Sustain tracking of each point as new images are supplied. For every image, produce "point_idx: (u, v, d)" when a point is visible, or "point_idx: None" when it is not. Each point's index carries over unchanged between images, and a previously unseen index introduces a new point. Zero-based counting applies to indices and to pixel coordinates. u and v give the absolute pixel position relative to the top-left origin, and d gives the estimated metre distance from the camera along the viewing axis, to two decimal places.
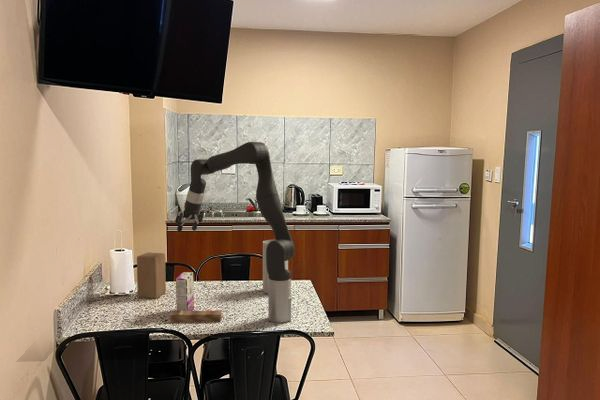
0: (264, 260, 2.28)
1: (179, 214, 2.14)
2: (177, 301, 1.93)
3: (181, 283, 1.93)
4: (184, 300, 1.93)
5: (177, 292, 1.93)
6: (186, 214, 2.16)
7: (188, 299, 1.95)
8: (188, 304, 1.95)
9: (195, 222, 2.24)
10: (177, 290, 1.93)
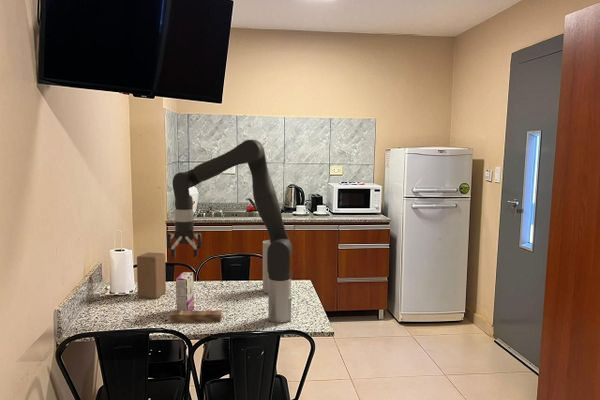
0: (264, 260, 2.28)
1: None
2: (177, 301, 1.93)
3: (181, 283, 1.93)
4: (184, 300, 1.93)
5: (177, 292, 1.93)
6: (175, 236, 1.95)
7: (188, 299, 1.95)
8: (188, 304, 1.95)
9: (194, 248, 1.97)
10: (177, 290, 1.93)
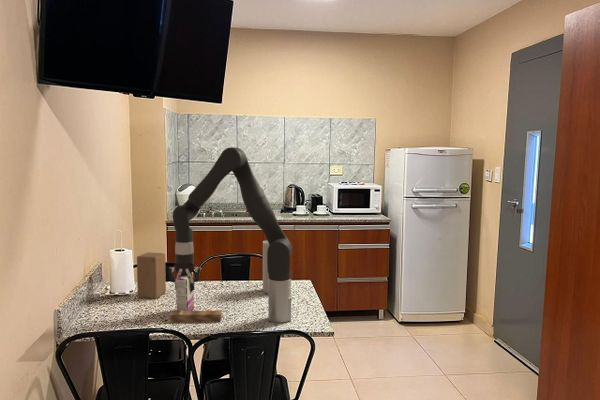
0: (264, 260, 2.28)
1: None
2: (177, 301, 1.93)
3: (181, 283, 1.92)
4: (184, 300, 1.93)
5: (177, 292, 1.93)
6: (175, 269, 1.96)
7: (188, 299, 1.95)
8: (188, 304, 1.95)
9: (191, 281, 1.98)
10: (177, 290, 1.93)
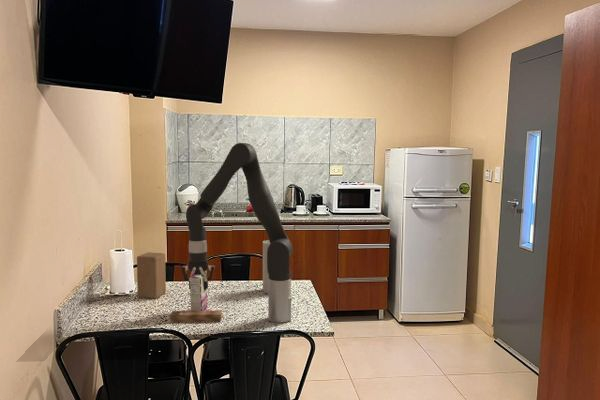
0: (264, 260, 2.28)
1: None
2: (191, 299, 1.94)
3: (195, 281, 1.93)
4: (198, 298, 1.93)
5: (191, 290, 1.93)
6: (189, 268, 1.97)
7: (202, 297, 1.95)
8: (202, 302, 1.95)
9: (204, 279, 1.98)
10: (191, 288, 1.93)
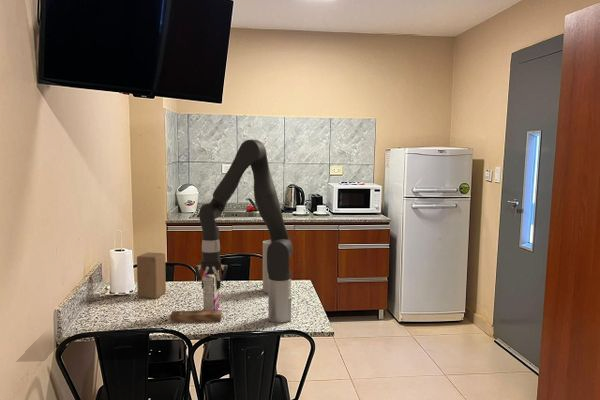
0: (264, 260, 2.28)
1: None
2: (204, 299, 1.94)
3: (208, 281, 1.93)
4: (211, 298, 1.94)
5: (204, 290, 1.94)
6: (202, 267, 1.97)
7: (215, 297, 1.96)
8: (215, 302, 1.96)
9: (217, 279, 1.99)
10: (204, 288, 1.94)
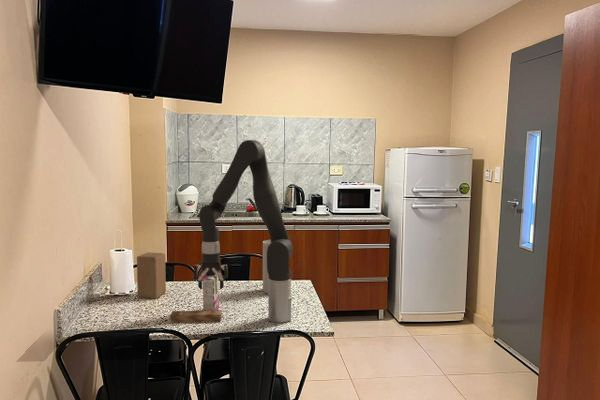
0: (264, 260, 2.28)
1: None
2: (204, 301, 1.94)
3: (208, 283, 1.93)
4: (211, 300, 1.94)
5: (204, 292, 1.94)
6: (202, 267, 1.97)
7: (215, 299, 1.96)
8: (215, 304, 1.96)
9: None
10: (204, 290, 1.94)
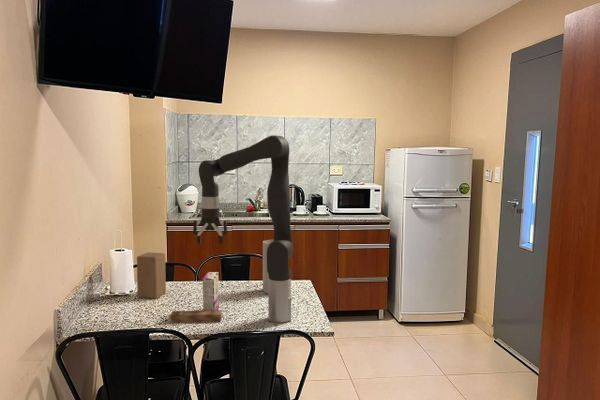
0: (264, 260, 2.28)
1: None
2: (204, 301, 1.94)
3: (208, 283, 1.93)
4: (211, 300, 1.94)
5: (204, 292, 1.94)
6: (201, 222, 1.99)
7: (215, 299, 1.96)
8: (215, 304, 1.96)
9: (219, 234, 2.01)
10: (204, 290, 1.94)
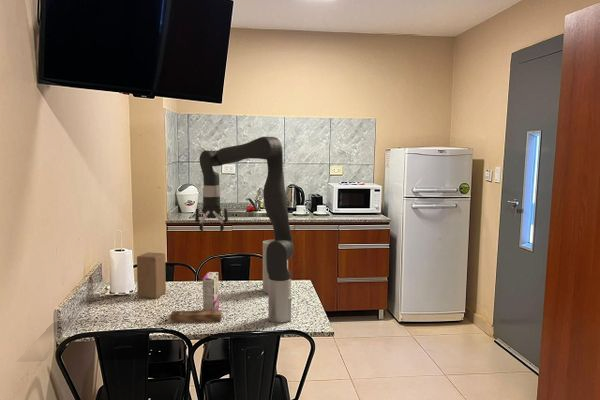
0: (264, 260, 2.28)
1: (196, 210, 2.08)
2: (204, 301, 1.94)
3: (208, 283, 1.93)
4: (210, 300, 1.94)
5: (204, 292, 1.94)
6: (203, 210, 2.07)
7: (215, 299, 1.96)
8: (215, 304, 1.96)
9: None
10: (204, 290, 1.94)
